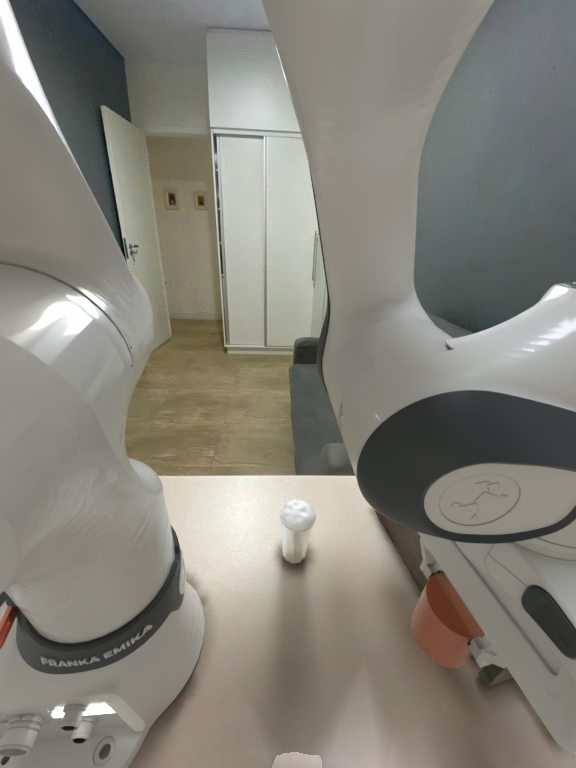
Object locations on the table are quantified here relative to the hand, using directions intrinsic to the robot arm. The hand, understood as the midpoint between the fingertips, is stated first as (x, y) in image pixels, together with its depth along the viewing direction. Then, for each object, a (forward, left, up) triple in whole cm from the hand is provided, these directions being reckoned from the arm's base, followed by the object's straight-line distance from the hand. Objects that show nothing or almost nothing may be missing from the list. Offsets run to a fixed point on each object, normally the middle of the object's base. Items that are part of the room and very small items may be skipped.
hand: (453, 611), depth 29 cm
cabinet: (+10, +12, -10) cm, 19 cm away
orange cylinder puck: (0, 0, -5) cm, 4 cm away
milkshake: (-12, +14, -10) cm, 21 cm away
